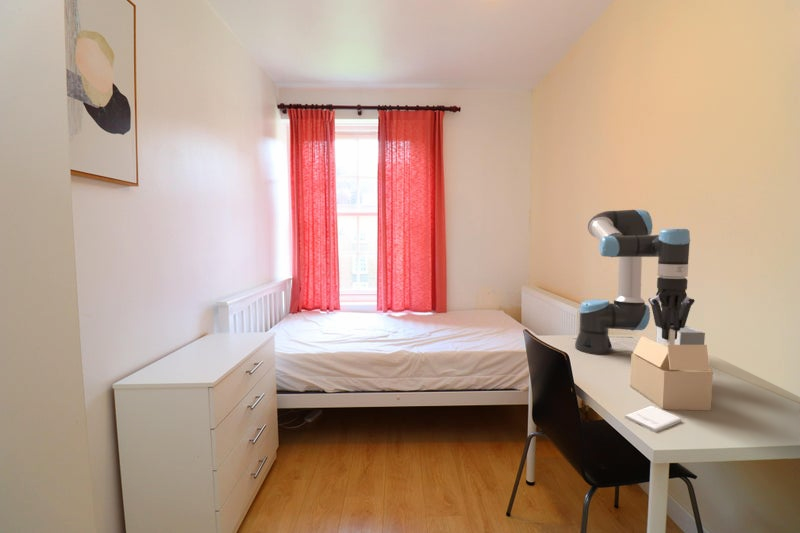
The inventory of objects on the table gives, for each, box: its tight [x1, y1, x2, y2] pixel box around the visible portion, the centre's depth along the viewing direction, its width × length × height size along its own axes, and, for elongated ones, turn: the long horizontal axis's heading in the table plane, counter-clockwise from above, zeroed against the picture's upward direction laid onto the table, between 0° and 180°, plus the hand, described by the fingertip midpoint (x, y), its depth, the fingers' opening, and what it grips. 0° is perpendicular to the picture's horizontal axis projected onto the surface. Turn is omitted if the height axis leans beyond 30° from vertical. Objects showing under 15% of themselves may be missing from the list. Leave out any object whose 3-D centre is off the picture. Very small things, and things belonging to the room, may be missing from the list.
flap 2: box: [667, 344, 711, 370], centre depth 101 cm, size 7×11×1 cm
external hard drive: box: [624, 405, 682, 433], centre depth 97 cm, size 2×8×12 cm
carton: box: [629, 353, 714, 411], centre depth 110 cm, size 16×15×12 cm
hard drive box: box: [655, 325, 706, 345], centre depth 123 cm, size 16×8×20 cm, turn 168°
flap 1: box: [632, 335, 668, 368], centre depth 109 cm, size 13×7×1 cm
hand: (668, 348), depth 109 cm, fingers closed
